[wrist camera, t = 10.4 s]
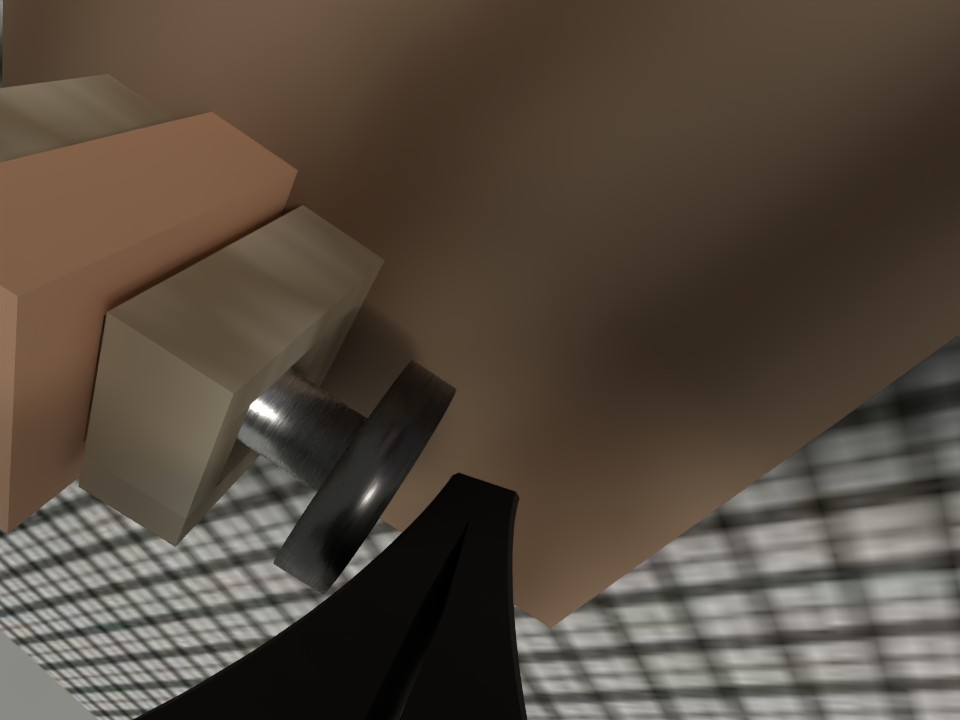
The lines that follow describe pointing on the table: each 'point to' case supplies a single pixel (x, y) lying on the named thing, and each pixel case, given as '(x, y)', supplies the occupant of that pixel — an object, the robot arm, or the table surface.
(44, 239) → the spacer
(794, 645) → the table surface
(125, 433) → the cradle
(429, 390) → the shaft
